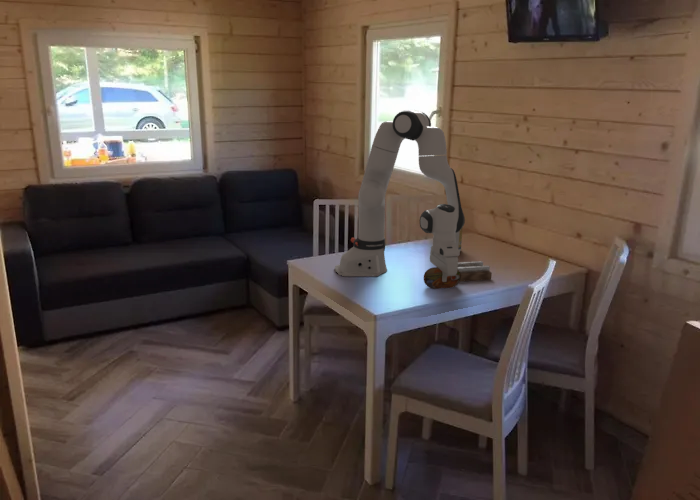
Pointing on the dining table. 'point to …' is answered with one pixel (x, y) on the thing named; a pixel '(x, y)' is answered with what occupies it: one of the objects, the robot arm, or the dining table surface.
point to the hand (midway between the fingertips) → (441, 279)
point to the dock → (475, 276)
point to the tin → (434, 279)
